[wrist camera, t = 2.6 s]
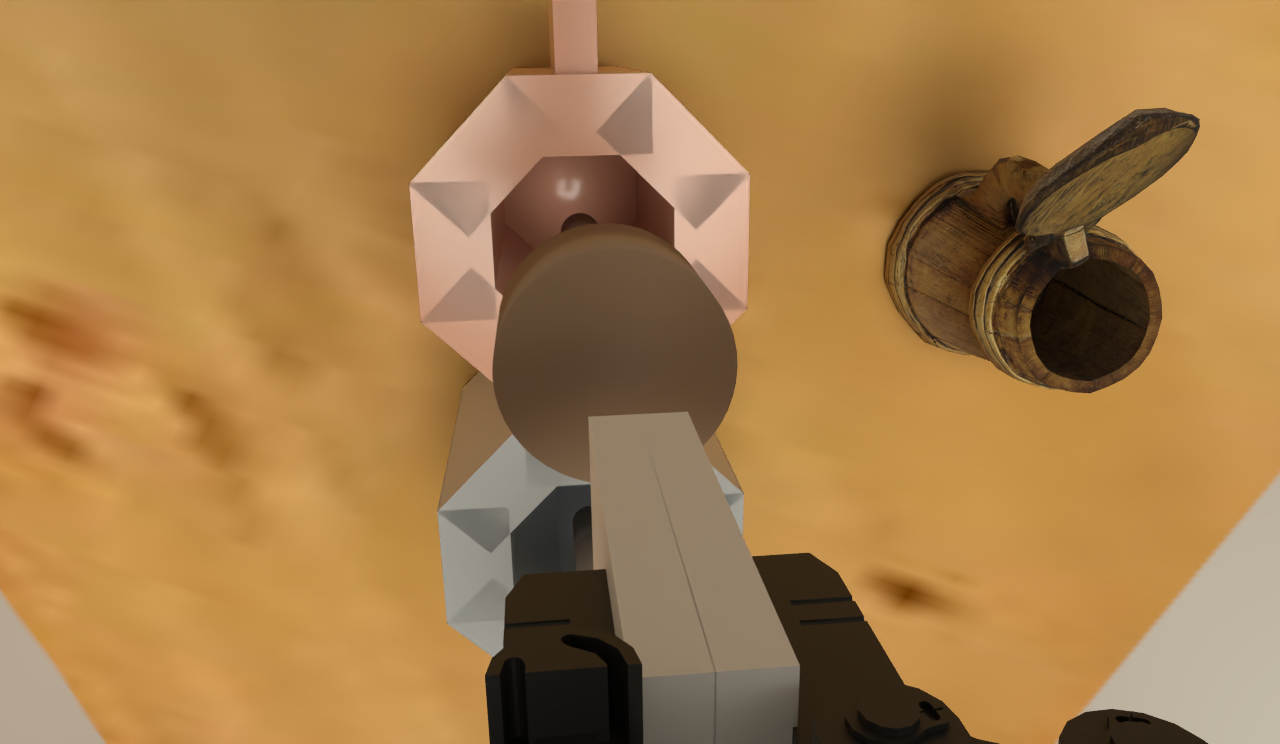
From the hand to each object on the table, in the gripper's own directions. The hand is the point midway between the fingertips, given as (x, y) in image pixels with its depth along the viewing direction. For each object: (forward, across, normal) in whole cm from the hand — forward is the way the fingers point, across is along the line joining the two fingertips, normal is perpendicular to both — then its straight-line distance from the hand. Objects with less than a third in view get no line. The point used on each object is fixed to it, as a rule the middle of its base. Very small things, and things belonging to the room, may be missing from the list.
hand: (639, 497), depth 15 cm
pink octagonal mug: (+33, 0, +2) cm, 33 cm away
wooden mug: (+33, +19, -2) cm, 38 cm away
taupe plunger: (+22, 0, 0) cm, 22 cm away
